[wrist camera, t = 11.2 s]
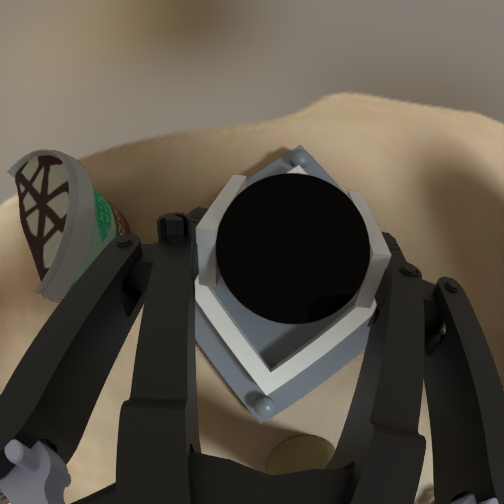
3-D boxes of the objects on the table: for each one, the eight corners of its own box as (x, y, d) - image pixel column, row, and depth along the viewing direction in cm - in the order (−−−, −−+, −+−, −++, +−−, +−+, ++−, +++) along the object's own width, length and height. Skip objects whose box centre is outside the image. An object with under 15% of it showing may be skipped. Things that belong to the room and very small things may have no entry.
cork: (256, 447, 19) (245, 531, 8) (326, 424, 19) (363, 498, 9) (279, 494, 18) (280, 578, 7) (344, 474, 18) (379, 549, 7)
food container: (169, 266, 23) (104, 235, 13) (116, 307, 22) (37, 300, 13) (112, 169, 25) (57, 115, 16) (70, 207, 25) (6, 167, 15)
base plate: (413, 296, 21) (431, 293, 18) (261, 417, 20) (259, 431, 17) (299, 153, 24) (301, 135, 21) (149, 259, 23) (134, 252, 20)
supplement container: (264, 220, 20) (259, 151, 11) (340, 256, 19) (389, 212, 10) (225, 294, 19) (187, 278, 10) (303, 333, 18) (331, 351, 9)
